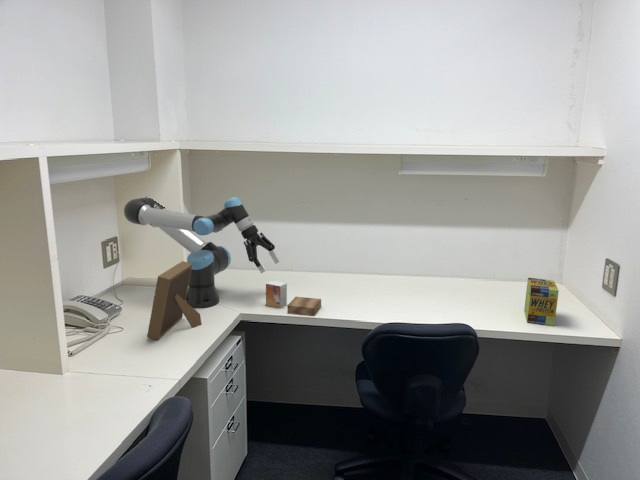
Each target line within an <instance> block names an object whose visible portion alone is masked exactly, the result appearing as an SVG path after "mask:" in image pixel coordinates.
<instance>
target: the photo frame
mask: <svg viewBox="0 0 640 480" xmlns="http://www.w3.org/2000/svg"><path fill="white" fill-rule="evenodd" d="M192 265H193V264H191V263H188V262H187V261H183V260H182V261H180V262H179V263H177V264H175V265H174V266H172V267H170V268H169V269H167V270H166V271H164V272H163V273H161V274H159V275H157V279H156V280H157V281H156V284H155V285H156V286H155V290H154V296H153V301H152V308H151V313H150V317H149V318H150V319H149V324H148V328H147V333H146V334H147V335H146V338H148V339H152V340H155V341H159V340H160V339H162V337H164V336H165V335H166V334H167V333H166V332H169V331H170V330H171V329H172V328H173V327H174V326H175V325H176V324H178V323H179V322H180V321H181V320H182V319H183V315H184V316H185V319H186V320H187V322H188V324H189V325H190V327H191V328H196V327H198V326H202V318H201V313H199V312H198V311H197V310H196V308H193V307H191V306H190V305H189V304H188V303H187V302H186V301H185V300H186V295H187V291H188V285H189V280H190V275H191V270H192Z"/></svg>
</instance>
